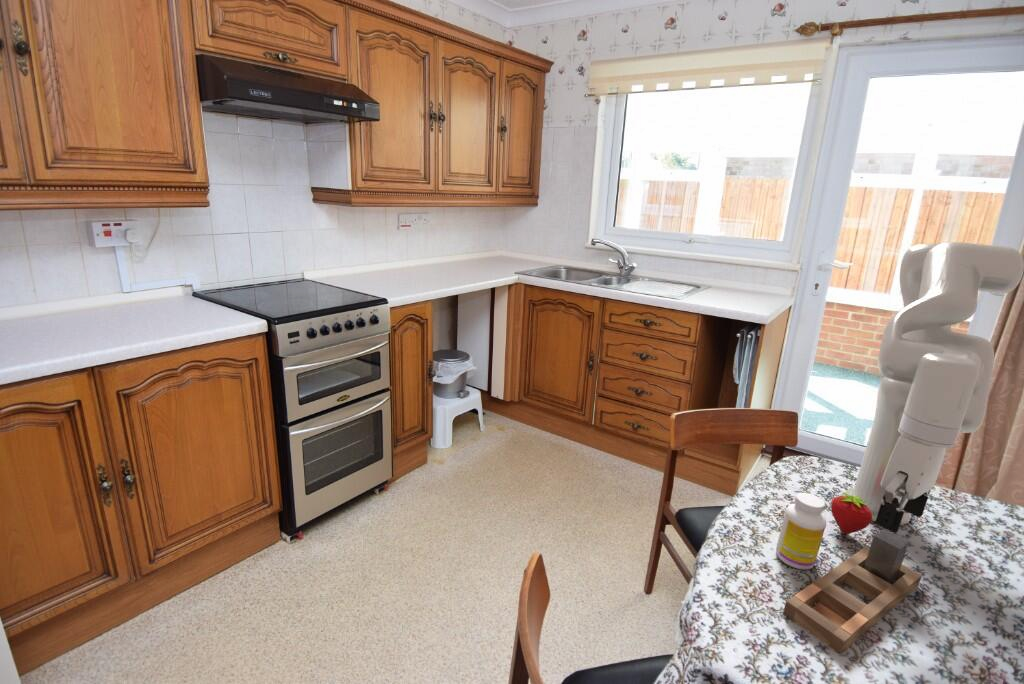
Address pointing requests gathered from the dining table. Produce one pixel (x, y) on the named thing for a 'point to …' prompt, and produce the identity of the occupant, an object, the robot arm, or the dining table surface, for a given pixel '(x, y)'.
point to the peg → (886, 555)
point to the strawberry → (850, 513)
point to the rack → (848, 601)
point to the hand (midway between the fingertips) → (898, 520)
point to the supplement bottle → (802, 531)
